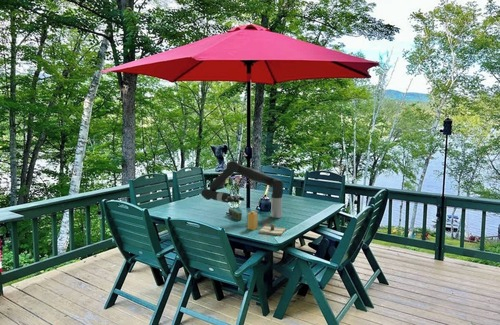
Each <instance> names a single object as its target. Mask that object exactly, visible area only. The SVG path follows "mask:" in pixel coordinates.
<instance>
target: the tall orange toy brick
mask: <svg viewBox="0 0 500 325" xmlns="http://www.w3.org/2000/svg"><path fill="white" fill-rule="evenodd" d="M258 214H259V213H258V212H255V211H253V210H252V211H250V212H248V213H247V230H251V231H255V230H257V229H258V228H259V227H258V221H259V220H258Z"/></svg>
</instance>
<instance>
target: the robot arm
mask: <svg viewBox="0 0 500 325" xmlns="http://www.w3.org/2000/svg"><path fill="white" fill-rule="evenodd" d="M225 167H226V168H225V169H224V170H223V171H222V173H221V174H219V175H218V176H217V177H216V178H215V179H214V180H213V181H212V182H211V183H210V184H209V188H204V189H202V190H201V192H200V195H201V196H202V197H203V198H204V199H205V200H207V201H208V200H209V201H210V200H213V201H217V202H221V203H239V202H240V201H242V202H243V201H245V197H242V196H240V195H231V193H229V192H224V191H223V192H222V191H220V192H219V191H217V190H218V189H219V188H220V187H221V186H222V185H223V184H224V183H225V182H226V181H227V179H229V177H230V176H232V175H233V174H234V173H236V174H238V175H239V174H240V175H241V176H243V177H244V178H247V179H249V180H251V181H254V182H256V183H260V184H265V185H267V186H269V187H271V189H272V192H271V203H270V204H271V206H270V207H271V210H270V212H271V213H270V214H271V218H275V219H280V218H282V216H283V194H284V182H283V181H282V180H281V179H279V178H276V177H272V176H269V175H268V174H265V173H263V172H262V171H260V170H257V169H254V168H251V167H249V166H248V167H247V166H244V165H241V164H240V163H238V162H237V161H234V160H229V161H228V162H227V163H226V166H225Z"/></svg>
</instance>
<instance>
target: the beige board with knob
mask: <svg viewBox="0 0 500 325" xmlns="http://www.w3.org/2000/svg"><path fill="white" fill-rule="evenodd" d="M270 225H271V226H268V225H267V226H266V225H264V226H262V228H260V229H259V230H258V234H261V233H262V234H261V235H264V234H265V235H270V236H279V237H280V236H281V237H282V236H283V235H284V233H285V232H286V231H287V228H285V227H277V226H275V224H273V223H271V224H270Z"/></svg>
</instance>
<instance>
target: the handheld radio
mask: <svg viewBox="0 0 500 325" xmlns="http://www.w3.org/2000/svg"><path fill="white" fill-rule="evenodd" d="M225 214H227V215H228V216H229V217H230V218H233V219H235V220H237V221H242V218H243V217H242V216H243V213H242V212H240V211H238V210H236V209H233V208H231V207H228V212H227V211H226V212H225Z"/></svg>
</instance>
